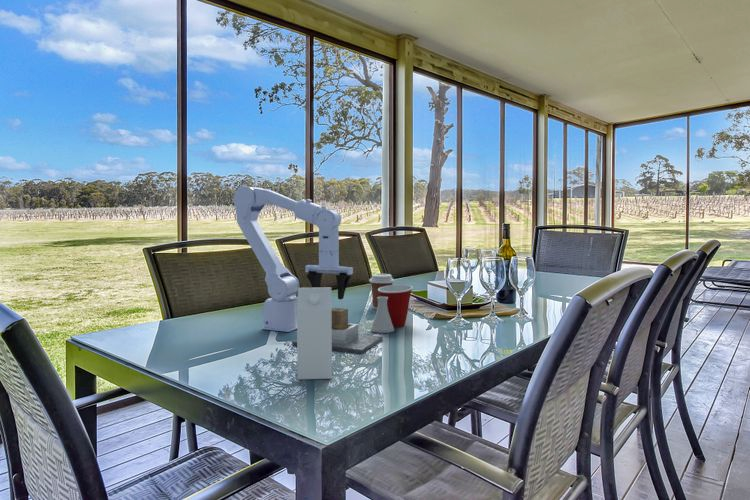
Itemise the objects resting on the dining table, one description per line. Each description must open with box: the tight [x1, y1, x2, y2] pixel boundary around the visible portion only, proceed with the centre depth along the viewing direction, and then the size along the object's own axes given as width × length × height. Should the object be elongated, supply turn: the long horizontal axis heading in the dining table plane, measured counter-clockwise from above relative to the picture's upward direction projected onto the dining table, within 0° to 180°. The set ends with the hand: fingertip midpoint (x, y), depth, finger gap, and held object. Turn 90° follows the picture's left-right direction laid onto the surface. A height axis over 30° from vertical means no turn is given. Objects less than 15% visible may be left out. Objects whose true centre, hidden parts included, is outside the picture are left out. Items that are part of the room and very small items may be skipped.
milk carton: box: [296, 286, 333, 380], centre depth 108 cm, size 7×7×19 cm
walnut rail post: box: [331, 307, 349, 330], centre depth 134 cm, size 4×4×8 cm
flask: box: [370, 297, 395, 334], centre depth 147 cm, size 7×7×10 cm
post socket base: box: [291, 322, 384, 355], centre depth 134 cm, size 20×14×4 cm
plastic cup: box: [378, 284, 414, 328], centre depth 154 cm, size 11×11×12 cm
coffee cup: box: [368, 273, 395, 310], centre depth 182 cm, size 9×9×12 cm
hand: (329, 297), depth 146 cm, fingers open, 7 cm apart
